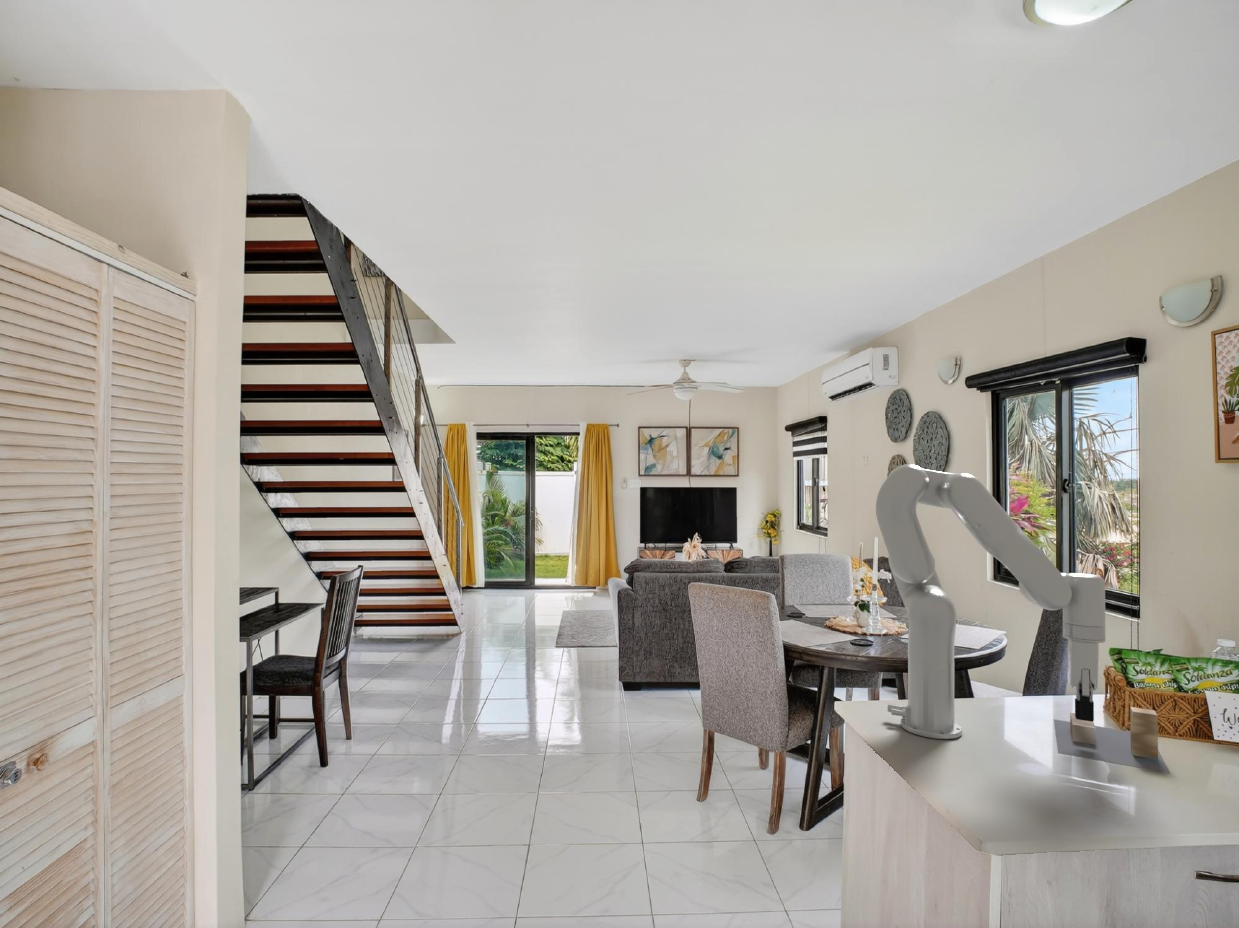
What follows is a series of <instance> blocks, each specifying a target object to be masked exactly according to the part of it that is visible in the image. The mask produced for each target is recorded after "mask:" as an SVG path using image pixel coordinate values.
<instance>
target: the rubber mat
mask: <svg viewBox="0 0 1239 928" xmlns="http://www.w3.org/2000/svg"><path fill="white" fill-rule="evenodd" d="M1053 726H1054V733H1055V739H1056V740H1055V741H1056V747H1057V753H1058V754H1062V755H1068V756H1071V757H1072V756H1073V757H1078V758H1083V759H1089V760H1095V761H1100V762H1107V763H1112V764H1117V765H1121V766H1122V765H1123V766H1128V767H1134V768H1138V769H1143V770H1150V771H1156V772H1161V773H1167V774H1171V772H1170V770H1169V768H1168V766H1167V764H1166V762H1165V761H1164V759H1163V757H1162V755H1161V753H1160V751H1159V750H1158V761H1156V760H1151V759H1145V758H1139V757H1133V755H1132V753H1131V730H1130V731H1129V730H1123V729H1118V728H1110V727H1105V726H1099V725H1098V726H1097V725H1095V745H1094V744H1088V743H1083V742H1077V741H1073V740H1072V735H1071V730H1070V721H1066V720H1060V719H1055V718H1054V719H1053Z"/></svg>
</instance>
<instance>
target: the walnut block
mask: <svg viewBox="0 0 1239 928" xmlns="http://www.w3.org/2000/svg"><path fill="white" fill-rule="evenodd" d="M1069 713H1070V714H1069V717H1070V720H1069V722H1070V730H1071V735H1072V740H1073V741H1077V742H1083V743H1088V744H1094V745H1095V726H1096V725H1095V722H1094V721H1093V722H1091V721H1084V720H1078V719H1076V717H1075V712H1069Z"/></svg>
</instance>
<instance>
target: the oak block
mask: <svg viewBox="0 0 1239 928" xmlns="http://www.w3.org/2000/svg"><path fill="white" fill-rule="evenodd" d="M1129 709H1130V713H1129V714H1130V718H1129V719H1130V732H1131V753H1132V755H1133V757H1139V758H1145V759H1151V760H1156V761H1158V751H1159V728H1158V727H1159V726H1158V725H1159V722H1158V721H1159V719H1158V718H1159V716H1158V714H1157V712H1156V710H1154V709H1147V708H1140V707H1134V706H1130V707H1129Z"/></svg>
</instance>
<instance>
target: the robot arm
mask: <svg viewBox="0 0 1239 928" xmlns="http://www.w3.org/2000/svg"><path fill="white" fill-rule="evenodd" d="M918 504H921V505H925V506H932V507H936V508H937V507H938V508H943V509H944V508H945V509H950V510H951V511H952V512H953V513H954V514H955V515H956V516H957V518H958V519H959V520H960V523H962V524H963V525H964V526H965V528H966V529H967V530H968V531H969V532H970V534H971V536H973V538H974V539H975V540H976V542H977V543H978V544H979V545H980V546H981V547H982V548H983V549H984V550H985V551H986V552H987V553H988V554H989V555H990V556H992V557H994V558H995V559H996V561H997V560H998V561H999V562H1000V563H1001V564H1002V565H1003V566H1004V567H1005V568H1006V569H1007V570H1008V571H1009V572H1010V573H1011V574H1012V576H1014V577H1015V579H1016V580H1017V581H1018V582H1019V583H1018V588H1019V591H1020V593H1021V596H1023V597H1024V598H1025V599H1026V600H1027V601H1028V602H1030V603H1032V604H1034V605H1036V606H1038V607H1040V608H1042V609H1044V610H1047V611H1058V610H1062V638H1063V639H1066V640H1068V641H1067V681H1068V685H1069V687H1070V688H1072V689H1073V688H1074V687H1075V698H1074V713H1075V717H1076V719H1078V720H1084V721H1091V722H1094V721H1095V711H1094V709H1095V706H1094V705H1095V704H1094V703H1095V702H1094V699H1093V696H1094V695H1093V692H1094V691H1096V690H1098V684H1099V666H1100V665H1099V662H1100V656H1099V653H1100V652H1099V651H1100V650H1099V649H1100V648H1099V647H1100V646H1099V645H1100V644H1103V643H1106V582H1105V579H1104V578H1103V577H1101V575H1097V574H1092V573H1083V572H1082V573H1081V572H1069V573H1065V572H1061V571H1060V570H1059V569H1058V568H1057V567H1056V565H1055V564H1054V563H1053V561H1051V560H1050V559H1049V557H1048V556H1047V555H1046V554H1045V553H1044V552H1043V551H1042V550H1041V549H1040V548H1039V546H1038V545H1037V544H1036V543H1035V542H1034V541H1032V539H1031V538H1030V537H1029V536H1028V535H1027V533H1025V531H1024V530H1023V529H1022V528H1021V527H1020V526H1019V525H1017V522H1015V520H1013V518H1012V517H1011V516H1010V515H1009V514H1008V513H1007V511H1005V509H1004V508H1003V507H1002V505H1001V504H1000V503H999V502H998V501H997V500H996V498H995V497H994V496H993V495H992V493H990V491H989V490H988V489H987V488H986V486H985V485H984V484H983V483H982V482H981V481H980V480H979V479H978V478H977V477H976V476H974V475H972V474H970V473H965V472H961V473H953V472H952V473H951V472H943V471H937V470H931V469H927V468H922V467H920V466H919V465H916V464H912V463H906V464H902V465H899V466H897V467H895V468H894V469H892V470H891V471H890V472H889V474H888V476H887V478H886V479H885V480H884V482H883V483H882V484H881V487H880V489H879V491H878V494H877V497H876V503H875V515H876V516H875V517H876V520H877V523H878V526H879V529H880V533H881V536H882V538H883V539H882V540H883V542H884V545H885V548H886V551H887V553H888V561H887V562H888V565H889V568H890V571H891V574H892V576H893V579H894V582H895V584H896V588H897V590H898V593H899V595H900V597H901V600H902V603H903V605H904V607H905V610H906V612H907V613H908V634H907V636H908V637H907V658H908V659H907V669H908V670H907V672H908V673H907V703H906V704H902V705H899V704H898V705H897V704H894V703H887V713H890V714H891V715H892V716H899V717H902V718H901V719H900V727H901V728H902V729H904V730H905V731H906V732H909V733H910V734H913V735H917V736H921V737H926V738H929V739H939V740H950V739H951V740H952V739H957V738H960V737H961V736H962V735H963V727H962V726H960V724H958V723H957V722H955V640H956V638H955V637H956V628H957V611H956V607H955V604H954V602H953V600H952V599H951V597H950V596H949V595H948V594H947V593H946V592H945V591H944V589H943V587H942V583H941V581H940V579H939V576H938V573H937V571H936V561H935V558H934V554H933V553H932V551H931V549H930V547H929V544H928V543H927V540H926V537H925V535H924V532H923V530H922V527H921V523H920V520H919V518H918V515H917V505H918Z"/></svg>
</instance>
